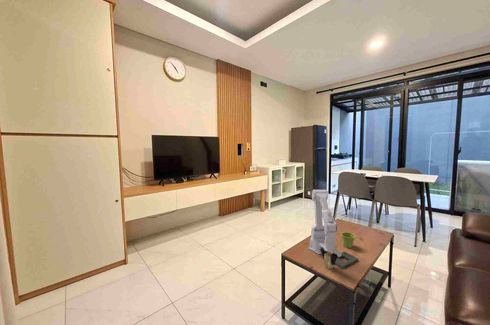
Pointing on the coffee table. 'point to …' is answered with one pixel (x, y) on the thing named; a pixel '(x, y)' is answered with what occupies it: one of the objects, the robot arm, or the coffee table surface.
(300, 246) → the coffee table surface
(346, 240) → the plant pot
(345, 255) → the slotted plate
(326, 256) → the birch peg
